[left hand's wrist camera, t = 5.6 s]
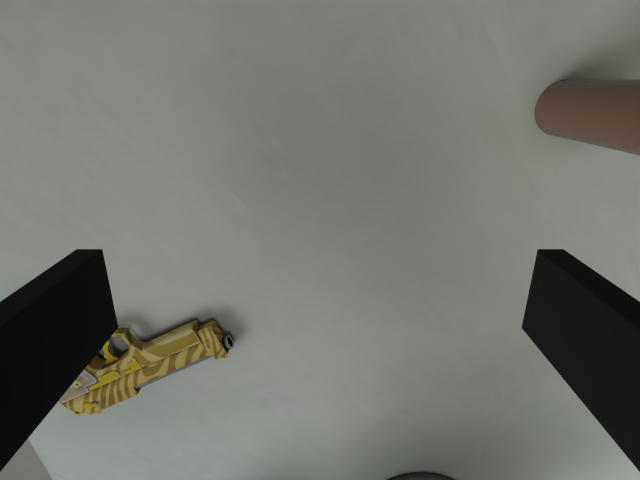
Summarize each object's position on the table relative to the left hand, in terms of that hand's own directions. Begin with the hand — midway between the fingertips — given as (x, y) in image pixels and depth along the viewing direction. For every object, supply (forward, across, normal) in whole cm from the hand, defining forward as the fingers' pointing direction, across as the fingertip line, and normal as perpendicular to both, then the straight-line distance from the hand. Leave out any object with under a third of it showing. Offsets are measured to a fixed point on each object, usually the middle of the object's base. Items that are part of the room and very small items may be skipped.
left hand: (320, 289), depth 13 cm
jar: (+28, -22, -4) cm, 36 cm away
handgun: (+28, +23, +20) cm, 41 cm away
